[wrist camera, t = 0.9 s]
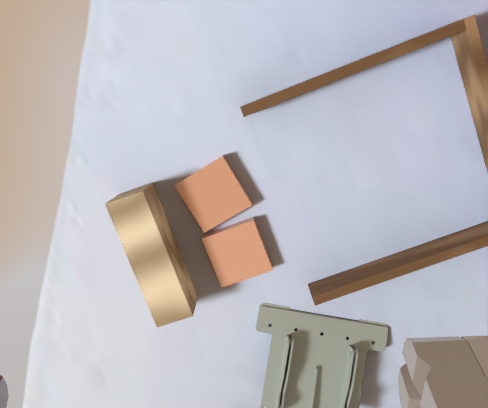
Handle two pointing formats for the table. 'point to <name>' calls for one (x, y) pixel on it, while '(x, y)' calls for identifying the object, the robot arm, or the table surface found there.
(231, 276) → the tile
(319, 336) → the metal bracket
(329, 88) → the table surface
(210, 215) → the tile
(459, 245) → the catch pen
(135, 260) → the bar
